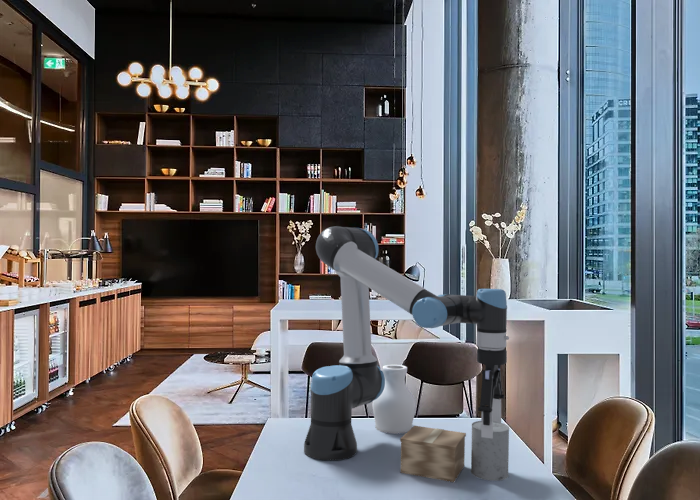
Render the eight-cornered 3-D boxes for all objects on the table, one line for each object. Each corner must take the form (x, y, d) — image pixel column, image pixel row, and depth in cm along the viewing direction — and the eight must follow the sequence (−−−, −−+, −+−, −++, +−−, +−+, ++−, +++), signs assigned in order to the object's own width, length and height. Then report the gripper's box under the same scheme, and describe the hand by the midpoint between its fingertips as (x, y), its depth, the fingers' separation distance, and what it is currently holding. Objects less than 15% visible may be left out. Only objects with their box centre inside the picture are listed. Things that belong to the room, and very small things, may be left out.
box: (400, 472, 144) (401, 441, 144) (414, 457, 155) (414, 428, 155) (454, 482, 138) (454, 450, 138) (464, 466, 149) (464, 436, 149)
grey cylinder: (510, 482, 139) (510, 433, 139) (471, 478, 141) (471, 430, 141) (507, 468, 148) (507, 422, 149) (470, 465, 150) (471, 419, 150)
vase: (424, 428, 182) (425, 367, 182) (397, 438, 172) (398, 373, 172) (390, 418, 192) (391, 360, 192) (362, 427, 181) (364, 366, 182)
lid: (400, 441, 144) (400, 438, 144) (414, 428, 155) (414, 425, 155) (455, 450, 138) (455, 446, 138) (465, 436, 150) (465, 432, 150)
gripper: (499, 356, 132) (498, 446, 132) (512, 342, 155) (512, 419, 155) (467, 354, 135) (467, 442, 135) (485, 340, 158) (485, 416, 158)
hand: (491, 430), depth 145 cm, fingers open, 13 cm apart
